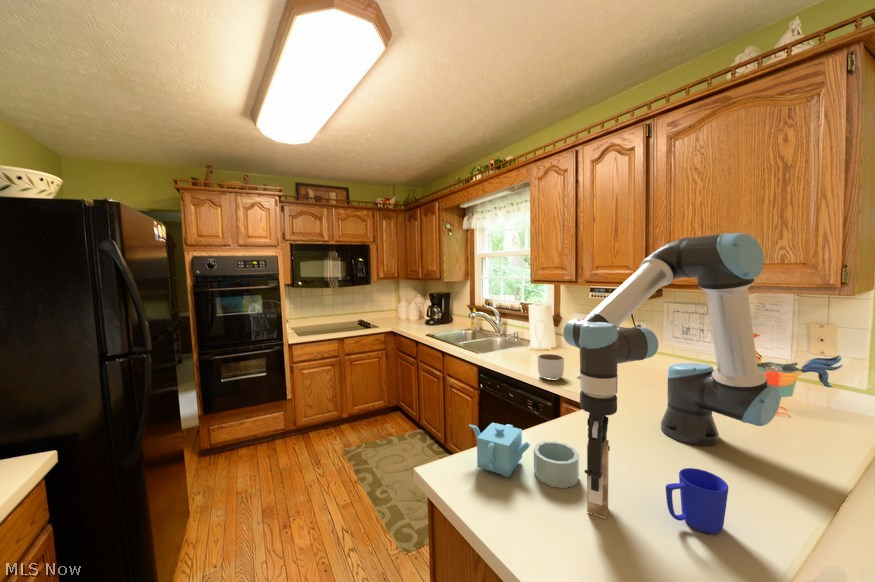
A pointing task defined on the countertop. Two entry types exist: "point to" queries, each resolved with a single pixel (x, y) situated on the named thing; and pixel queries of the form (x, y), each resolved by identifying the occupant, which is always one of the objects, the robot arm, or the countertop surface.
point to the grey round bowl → (556, 464)
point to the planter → (551, 366)
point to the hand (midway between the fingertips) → (597, 488)
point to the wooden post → (603, 508)
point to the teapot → (499, 448)
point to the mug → (700, 499)
